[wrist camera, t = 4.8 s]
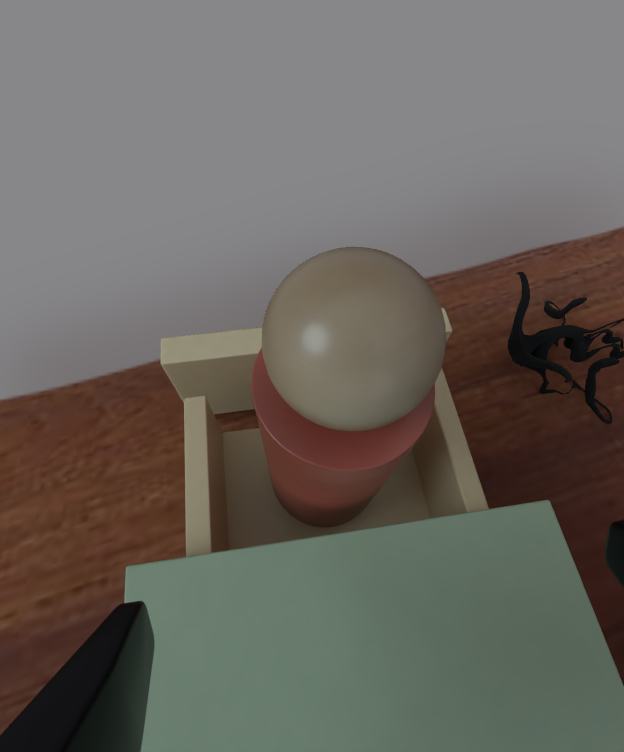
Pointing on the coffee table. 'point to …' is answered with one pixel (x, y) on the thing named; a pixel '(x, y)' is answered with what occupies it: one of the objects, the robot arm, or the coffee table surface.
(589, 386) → the creature
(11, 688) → the coffee table surface
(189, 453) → the drawer
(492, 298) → the coffee table surface
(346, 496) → the doll
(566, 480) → the coffee table surface
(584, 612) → the cabinet
